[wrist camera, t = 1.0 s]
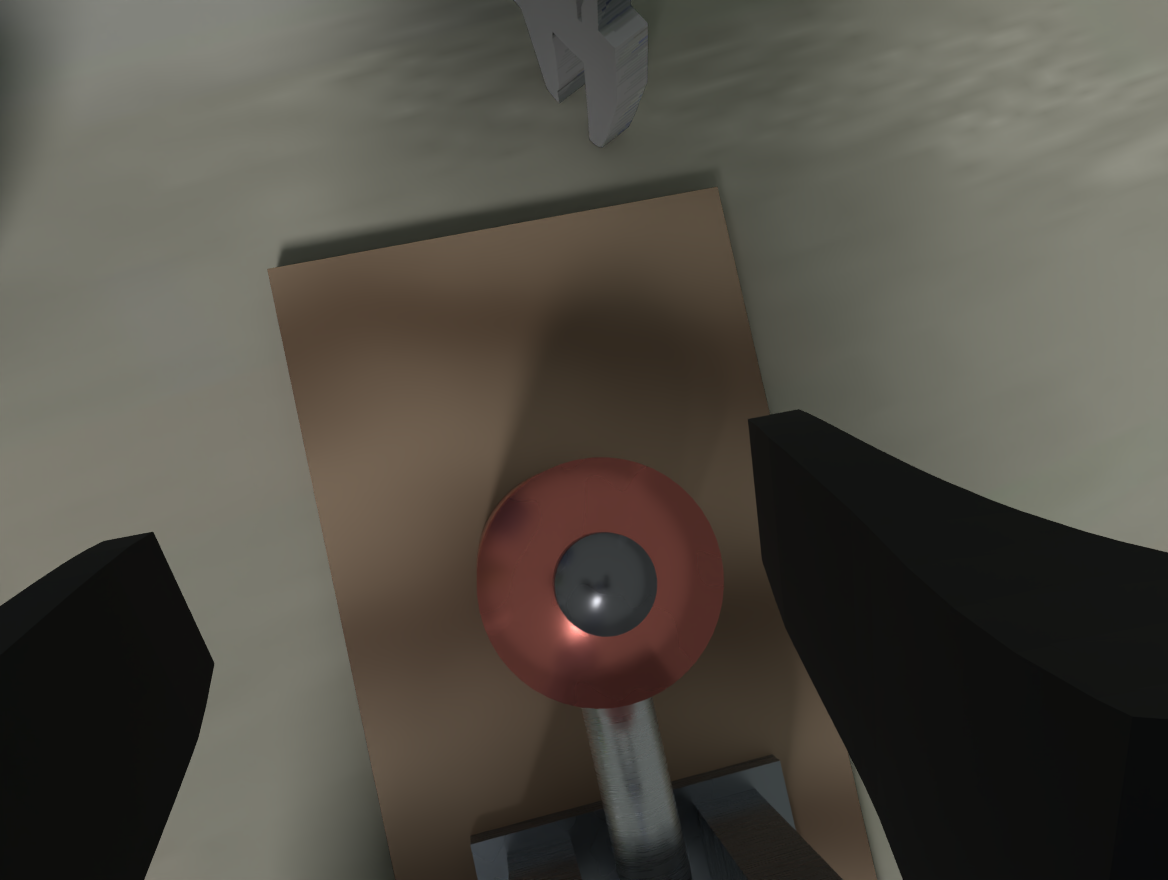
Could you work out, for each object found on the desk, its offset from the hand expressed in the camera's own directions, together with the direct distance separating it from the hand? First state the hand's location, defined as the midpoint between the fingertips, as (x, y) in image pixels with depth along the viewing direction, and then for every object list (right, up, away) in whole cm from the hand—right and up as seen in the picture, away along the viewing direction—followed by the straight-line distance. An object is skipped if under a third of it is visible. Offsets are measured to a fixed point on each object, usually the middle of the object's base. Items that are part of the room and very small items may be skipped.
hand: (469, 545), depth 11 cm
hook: (+2, -7, +12) cm, 14 cm away
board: (+1, -3, +13) cm, 14 cm away
